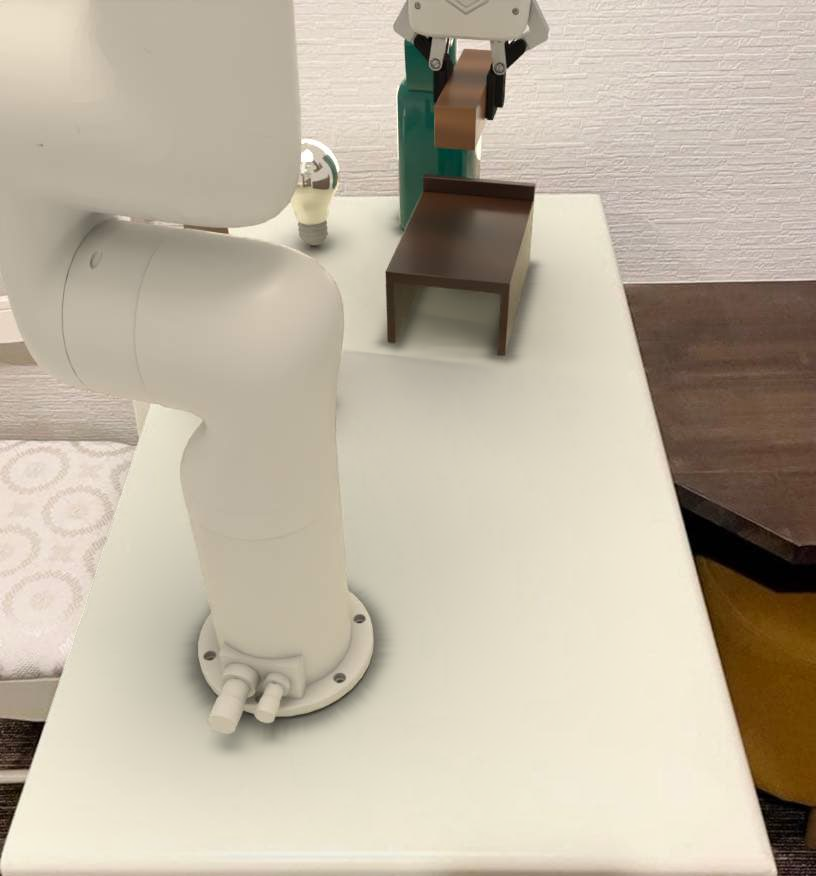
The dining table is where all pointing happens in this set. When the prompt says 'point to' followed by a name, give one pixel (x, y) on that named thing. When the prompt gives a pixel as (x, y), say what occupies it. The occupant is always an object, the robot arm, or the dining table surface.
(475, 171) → the green glass bottle
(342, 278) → the dining table surface
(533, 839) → the dining table surface
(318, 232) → the light bulb
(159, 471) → the dining table surface
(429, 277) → the shelf
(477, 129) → the brown wooden bar
